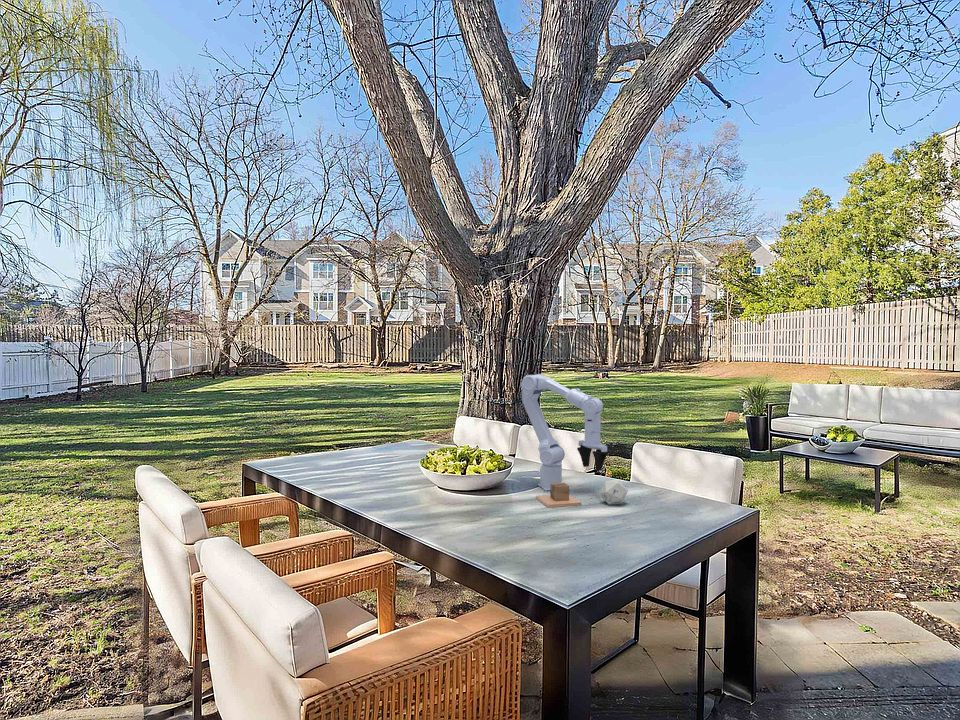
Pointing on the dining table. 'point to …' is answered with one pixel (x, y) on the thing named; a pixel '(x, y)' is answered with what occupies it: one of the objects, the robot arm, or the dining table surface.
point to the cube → (559, 491)
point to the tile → (551, 503)
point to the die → (613, 492)
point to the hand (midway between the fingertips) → (592, 468)
